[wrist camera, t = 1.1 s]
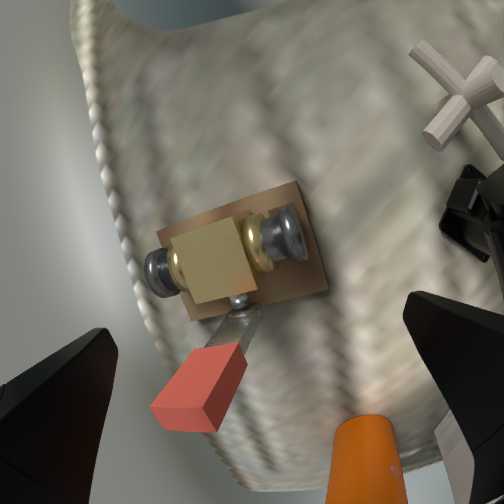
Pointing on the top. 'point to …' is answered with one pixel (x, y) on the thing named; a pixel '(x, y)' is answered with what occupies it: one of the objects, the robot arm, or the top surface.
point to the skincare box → (456, 458)
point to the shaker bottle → (365, 464)
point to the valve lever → (209, 376)
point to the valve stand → (239, 255)
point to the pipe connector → (462, 98)
